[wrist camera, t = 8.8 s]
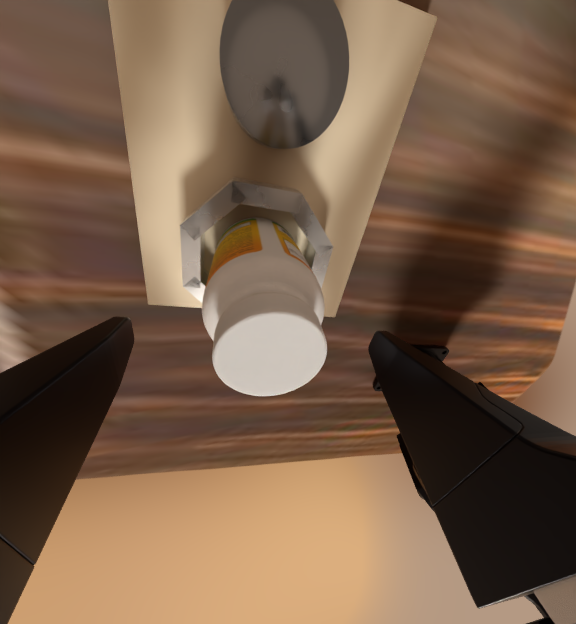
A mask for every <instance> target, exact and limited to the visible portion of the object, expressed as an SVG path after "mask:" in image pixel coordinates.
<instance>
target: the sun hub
mask: <svg viewBox="0 0 576 624" xmlns="http://www.w3.org/2000/svg"><path fill="white" fill-rule="evenodd" d="M219 51H220V69H221V76H222V81H223V86H224V90H225V93H226V97H227V101H228V104H229V107H230V110H231V112H232V114H233V116H234V118H235V120H236V122H237V123H238V125H239V126H240V128H241V129H242V130H243V131H244V132H245V134H246V135H247V136H249V137H250V138H251V139H252V140H253V141H255V142H257V143H258V144H260V145H262V146H265V147H268V148H273V149H292V148H298V147H301V146H304V145H306V144H308V143H310V142H312V141H314V140H315V139H316V138H318V137H319V136H320V135H321V134H322V133H323V132H324V131H325V130H326V129H327V128H328V127H329V126H330V124H331V123H332V121H333V120H334V118H335V117H336V115H337V113H338V111H339V109H340V106H341V104H342V101H343V98H344V95H345V91H346V87H347V82H348V75H349V47H348V40H347V34H346V30H345V26H344V23H343V20H342V17H341V15H340V12H339V10H338V8H337V6H336V4H335V2H334V0H232V1H231V3H230V6H229V8H228V10H227V13H226V16H225V19H224V22H223V26H222V32H221V37H220V50H219Z"/></svg>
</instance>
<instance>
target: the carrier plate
mask: <svg viewBox="0 0 576 624" xmlns="http://www.w3.org/2000/svg"><path fill="white" fill-rule="evenodd" d="M231 1H232V0H108V3H109V11H110V19H111V26H112V34H113V41H114V49H115V56H116V64H117V72H118V79H119V87H120V94H121V102H122V109H123V117H124V124H125V132H126V140H127V147H128V155H129V162H130V170H131V177H132V185H133V193H134V200H135V208H136V215H137V223H138V230H139V238H140V245H141V253H142V261H143V268H144V276H145V283H146V291H147V298H148V304H151V305H166V306H181V307H195V308H202V303H201V302H200V301H199V300H198V299H197V298H195V297H194V296H193V295H192V294H191V293H190V292H189V291H188V290H186V289H185V288H184V287H183V280H182V258H181V235H180V224H181V223H182V222H183V221H184V219H185V218H186V217H187V216H188V215H189V214H191V213H192V212H193V211H194V210H195V209H197V208H198V207H199V206H200V205H201V204H202V203H204V202H205V201H206V200H207V199H208V198H210V197H211V196H212V195H213V194H214V193H215V192H217V191H218V190H219V189H220V188H221V187H222V186H224V185H225V184H226V183H227V182H228V181H230V180H231V179H232V178H233V177H237V178H242V179H247V180H252V181H257V182H263V183H268V184H273V185H278V186H283V187H289V188H294V189H297V190H298V191H299V192H301V193H302V194H303V196H304V198H305V199H306V201H307V203H308V204H309V206H310V208H311V209H312V211H313V213H314V215H315V216H316V218H317V220H318V221H319V223H320V225H321V227H322V228H323V230H324V232H325V233H326V235H327V237H328V238H329V240H330V242H331V244H332V245H333V250H332V253H331V257H330V260H329V264H328V267H327V271H326V274H325V278H324V281H323V285H322V288H321V290H322V293H323V297H324V306H325V308H324V316H327V317H335V315H336V312H337V309H338V306H339V304H340V301H341V298H342V295H343V292H344V289H345V286H346V283H347V280H348V277H349V274H350V271H351V268H352V266H353V263H354V260H355V257H356V254H357V251H358V248H359V245H360V242H361V239H362V236H363V233H364V231H365V228H366V225H367V222H368V219H369V216H370V213H371V210H372V207H373V204H374V201H375V198H376V196H377V193H378V190H379V187H380V184H381V181H382V178H383V175H384V172H385V169H386V166H387V163H388V160H389V158H390V155H391V152H392V149H393V146H394V143H395V140H396V137H397V134H398V131H399V128H400V125H401V123H402V120H403V117H404V114H405V111H406V108H407V105H408V102H409V99H410V96H411V93H412V90H413V88H414V85H415V82H416V79H417V76H418V73H419V70H420V67H421V64H422V61H423V58H424V55H425V52H426V50H427V47H428V44H429V41H430V38H431V35H432V32H433V29H434V26H435V23H436V20H437V17H436V16H433V15H431V14H429V13H426V12H424V11H421V10H419V9H417V8H414V7H412V6H410V5H407V4H405V3H402V2H400V1H398V0H334V2H335V4H336V6H337V8H338V10H339V12H340V15H341V17H342V20H343V23H344V26H345V30H346V34H347V40H348V47H349V75H348V82H347V87H346V91H345V95H344V98H343V101H342V104H341V106H340V109H339V111H338V113H337V115H336V117H335V118H334V120H333V121H332V123H331V124H330V126H329V127H328V128H327V129H326V130H325V131H324V132H323V133H322V134H321V135H320V136H319V137H318V138H316V139H315V140H314V141H312V142H310V143H308V144H306V145H304V146H301V147H298V148H292V149H273V148H268V147H265V146H262V145H260V144H258V143H257V142H255V141H253V140H252V139H251V138H250V137H249V136H247V135H246V134H245V132H244V131H243V130H242V129H241V128H240V126H239V125H238V123H237V122H236V120H235V118H234V116H233V114H232V112H231V110H230V107H229V104H228V101H227V97H226V93H225V90H224V86H223V81H222V76H221V69H220V51H219V50H220V37H221V32H222V26H223V22H224V19H225V16H226V13H227V10H228V8H229V6H230V3H231ZM254 217H258V218H266V219H269V220H272V221H274V222H276V223H278V224H280V225H281V226H282V227H284V228H285V229H286V230H287V231H288V232H289V233H290V235H291V236H292V237H293V239H294V241H295V242H296V244H297V246H298V248H299V249H300V251H301V253H302V254H303V256H304V258H305V254H306V250H307V245H308V240H307V238H306V237H305V235H304V233H303V232H302V230H301V229H300V227H299V226H298V224H297V223H296V221H295V220H294V218H293V216H292V215H291V213H290V212H285V211H279V210H273V209H268V208H262V207H256V206H250V205H244V204H239V205H238V206H236V207H235V208H234V209H233V210H232V211H230V212H229V213H228V214H227V215H225V216H224V217H223V218H222V219H220V220H219V221H218V222H217V223H216V224H214V225H213V226H212V227H211V228H209V229H208V230H207V231H206V232H205V269H206V270H207V271H208V272H209V273H210V269H211V265H212V262H213V258H214V254H215V250H216V247H217V244H218V242H219V239H220V238H221V236H222V235H223V233H224V232H225V231H226V230H227V229H228V228H229V227H230V226H231V225H233V224H234V223H236V222H238V221H241V220H243V219H247V218H254Z"/></svg>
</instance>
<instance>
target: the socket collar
mask: <svg viewBox="0 0 576 624" xmlns="http://www.w3.org/2000/svg"><path fill="white" fill-rule="evenodd" d="M239 204H244V205H250V206H256V207H262V208H268V209H273V210H279V211H285V212H290V213H291V215H292V216H293V218H294V220H295V221H296V223H297V224H298V226H299V227H300V229H301V230H302V232H303V233H304V235H305V237H306V238H307V240H308V245H307V250H306V254H305V260H306V261H307V263H308V265H309V267H310V268H311V270H312V271H313V273H314V275H315V276H316V278H317V280H318V282H319V285H320V287H321V288H322V285H323V281H324V278H325V274H326V271H327V267H328V264H329V260H330V257H331V253H332V250H333V245H332V244H331V242H330V240H329V238H328V237H327V235H326V233H325V232H324V230H323V228H322V227H321V225H320V223H319V221H318V220H317V218H316V216H315V215H314V213H313V211H312V209H311V208H310V206H309V204H308V203H307V201H306V199H305V198H304V196H303V194H302V193H301V192H299V191H298V190H297V189H294V188H289V187H283V186H278V185H273V184H268V183H263V182H257V181H252V180H247V179H242V178H237V177H233V178H232V179H231V180H230V181H228V182H227V183H226V184H225V185H224V186H222V187H221V188H220V189H219V190H218V191H217V192H215V193H214V194H213V195H212V196H211V197H210V198H208V199H207V200H206V201H205V202H204V203H202V204H201V205H200V206H199V207H198V208H197V209H195V210H194V211H193V212H192V213H191V214H189V215H188V216H187V217H186V218H185V219H184V221H183V222H182V223H181V224H180V235H181V258H182V280H183V287H184V288H185V289H186V290H188V291H189V292H190V293H191V294H192V295H193V296H194V297H195V298H197V299H198V300H199V301H200V302H201V303H203V295H204V291H205V287H206V284H207V280H208V276H209V272H208V271H207V270H206V269H205V232H206V231H207V230H208V229H209V228H211V227H212V226H213V225H214V224H216V223H217V222H218V221H219V220H220V219H222V218H223V217H224V216H225V215H227V214H228V213H229V212H230V211H232V210H233V209H234V208H235V207H236V206H238V205H239Z"/></svg>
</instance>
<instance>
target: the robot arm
mask: <svg viewBox="0 0 576 624" xmlns="http://www.w3.org/2000/svg"><path fill="white" fill-rule="evenodd" d="M133 344H134V334H133V328H132V323H131V320H130V318H128V317H113V318H111V319H109V320H107V321H105V322H103V323H101V324H99V325H97V326H95V327H93V328H91V329H89V330H87V331H85V332H82V333H80V334H78V335H76V336H74V337H72V338H70V339H68V340H66V341H64V342H62V343H60V344H58V345H56V346H54V347H52V348H50V349H48V350H46V351H44V352H42V353H40V354H38V355H36V356H34V357H32V358H30V359H28V360H26V361H24V362H22V363H20V364H18V365H16V366H14V367H12V368H10V369H8V370H6V371H4V372H2V373H0V624H8V622H9V619H10V617H11V615H12V613H13V611H14V609H15V607H16V605H17V603H18V600H19V598H20V596H21V594H22V592H23V590H24V588H25V586H26V583H27V581H28V579H29V577H30V575H31V573H32V571H33V569H34V564H35V563H36V562H37V560H38V558H39V556H40V553H41V551H42V549H43V547H44V545H45V543H46V541H47V539H48V537H49V534H50V532H51V530H52V528H53V526H54V524H55V522H56V520H57V517H58V515H59V513H60V511H61V509H62V507H63V505H64V503H65V501H66V498H67V496H68V494H69V492H70V490H71V488H72V486H73V484H74V482H75V480H76V477H77V475H78V473H79V471H80V469H81V467H82V465H83V463H84V461H85V458H86V456H87V454H88V452H89V450H90V448H91V446H92V444H93V442H94V439H95V437H96V435H97V433H98V431H99V429H100V427H101V425H102V423H103V420H104V418H105V416H106V414H107V412H108V410H109V408H110V406H111V404H112V401H113V399H114V397H115V395H116V393H117V391H118V389H119V386H120V384H121V381H122V378H123V375H124V372H125V369H126V366H127V363H128V360H129V357H130V354H131V351H132V348H133ZM448 353H449V350H448V349H447V348H446V347H445V346H423V345H410V344H408V343H406V342H405V341H403V340H401V339H399V338H398V337H396V336H394V335H392V334H391V333H389V332H387V331H376V332H375V334H374V336H373V338H372V340H371V342H370V345H369V354H370V357H371V360H372V363H373V367H374V370H375V373H376V376H377V379H376V381H375V383H374V385H373V388H374V390H375V391H382V392H383V394H384V396H385V399H386V401H387V403H388V406H389V408H390V410H391V412H392V415H393V417H394V419H395V422H396V424H397V426H398V428H399V431H400V434H398V435H397V438H398V441H399V443H400V448H401V451H402V453H403V456H404V458H405V461H406V464H407V466H408V469H409V472H410V474H411V476H412V479H413V482H414V484H415V487H416V489H417V492H418V494H419V496H420V497H421V498H422V499H424V500H425V501H426V502H427V504H428V505H429V506H430V507H431V509H432V510H433V511H434V512H435V513H436V515H437V518H438V520H439V522H440V525H441V527H442V530H443V532H444V534H445V536H446V538H447V541H448V543H449V546H450V548H451V550H452V552H453V555H454V557H455V559H456V562H457V564H458V566H459V569H460V571H461V573H462V575H463V578H464V580H465V582H466V584H467V587H468V589H469V591H470V594H471V596H472V598H473V600H474V602H475V604H476V606H477V608H483V607H486V606H490V605H493V604H497V603H500V602H504V601H508V600H511V599H515V598H519V597H522V596H524V597H526V598H527V599H528V600H529V601H531V602H532V603H533V604H534V605H535V606H536V607H537V609H538V610H539V611H540V613H541V614H542V615H543V617H544V618H542V619H539V620H536V621H533V622H530V623H527V624H576V436H574V435H572V434H570V433H568V432H566V431H563V430H562V429H560V428H558V427H556V426H554V425H552V424H550V423H548V422H547V421H545V420H542V419H541V418H539V417H537V416H535V415H533V414H531V413H530V412H528V411H526V410H524V409H522V408H520V407H518V406H516V405H515V404H513V403H511V402H509V401H507V400H505V399H503V398H502V397H500V396H498V395H496V394H495V393H493V392H491V391H489V390H488V389H487V388H486V387H485V386H484V385H483V384H482V383H481V382H479V383H478V384H477V383H474V382H473V381H472V380H470V379H468V378H467V377H465V376H463V375H461V374H460V373H458V372H456V371H455V370H453V369H451V368H449V367H448V366H446V365H445V364H444V363H443V362H442V361H443V360H444V358H445V357H446V355H447V354H448Z"/></svg>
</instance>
